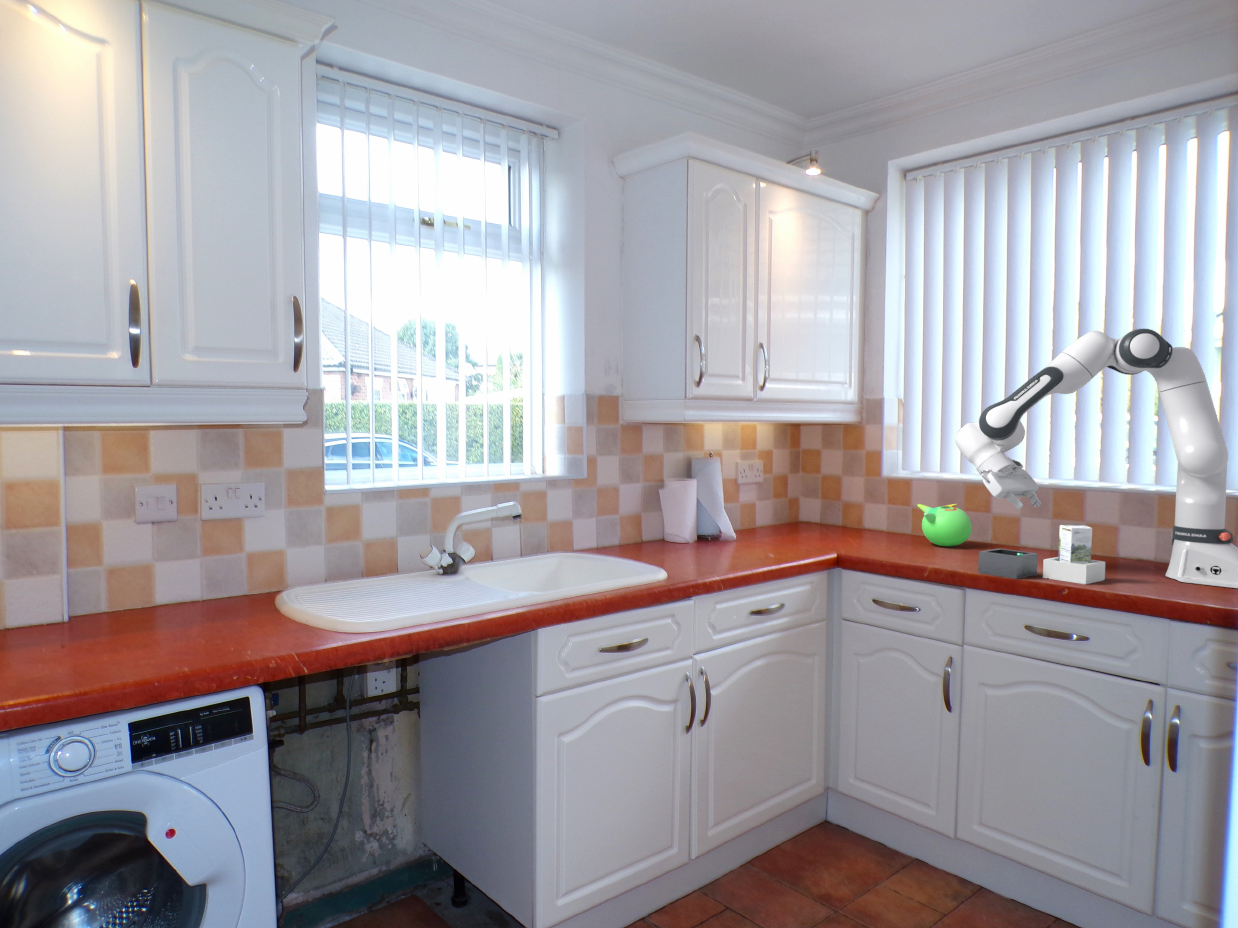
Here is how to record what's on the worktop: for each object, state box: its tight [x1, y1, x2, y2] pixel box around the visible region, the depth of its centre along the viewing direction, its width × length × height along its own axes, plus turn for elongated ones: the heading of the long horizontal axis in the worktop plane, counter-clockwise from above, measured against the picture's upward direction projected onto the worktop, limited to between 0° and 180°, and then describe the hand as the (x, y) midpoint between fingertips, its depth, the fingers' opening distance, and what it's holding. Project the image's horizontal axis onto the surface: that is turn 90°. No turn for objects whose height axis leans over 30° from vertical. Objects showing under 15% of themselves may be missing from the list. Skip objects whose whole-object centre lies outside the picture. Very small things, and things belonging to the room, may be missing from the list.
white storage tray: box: [1042, 556, 1106, 585], centre depth 218 cm, size 11×11×5 cm
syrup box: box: [1057, 524, 1093, 564], centre depth 218 cm, size 6×6×14 cm
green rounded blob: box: [917, 503, 973, 547], centre depth 278 cm, size 18×17×15 cm
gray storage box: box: [977, 548, 1039, 580], centre depth 225 cm, size 11×11×7 cm
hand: (1030, 506), depth 227 cm, fingers open, 8 cm apart
